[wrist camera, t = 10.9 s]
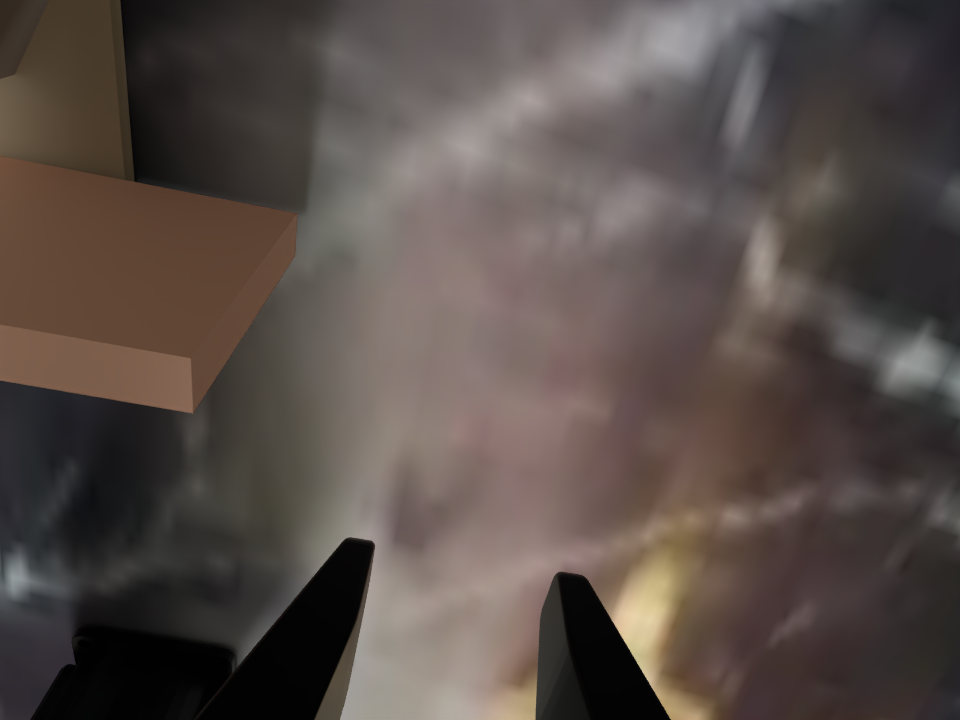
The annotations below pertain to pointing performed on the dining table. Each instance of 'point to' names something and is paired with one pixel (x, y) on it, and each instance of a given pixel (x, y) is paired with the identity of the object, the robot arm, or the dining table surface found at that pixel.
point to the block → (128, 283)
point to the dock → (65, 86)
